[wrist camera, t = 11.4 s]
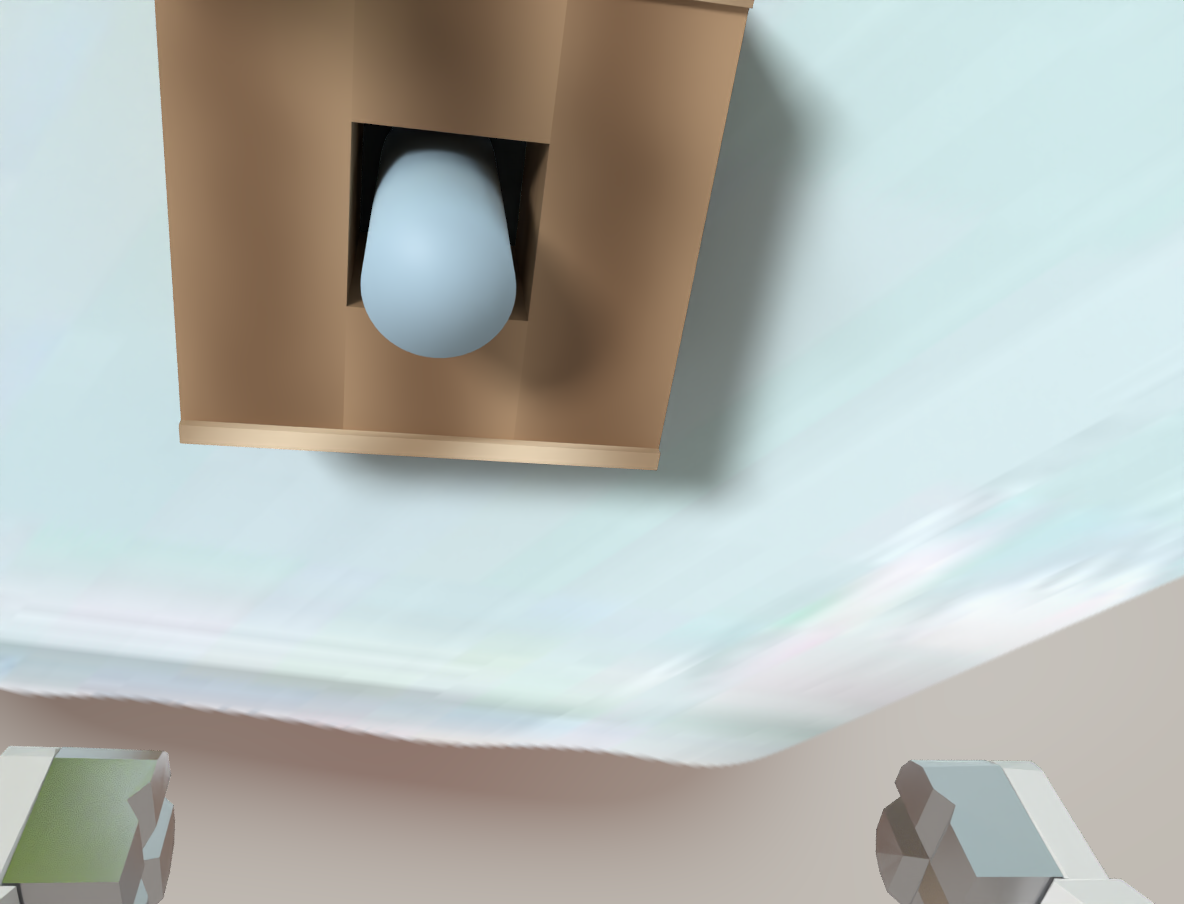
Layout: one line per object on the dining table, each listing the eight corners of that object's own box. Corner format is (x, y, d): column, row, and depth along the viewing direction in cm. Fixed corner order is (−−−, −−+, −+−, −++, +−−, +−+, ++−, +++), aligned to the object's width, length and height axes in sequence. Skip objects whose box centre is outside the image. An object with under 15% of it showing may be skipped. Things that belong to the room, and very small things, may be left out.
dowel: (501, 114, 32) (524, 222, 24) (491, 225, 34) (508, 363, 26) (382, 100, 32) (362, 206, 23) (378, 215, 34) (358, 352, 25)
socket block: (702, -49, 31) (757, -19, 25) (626, 376, 38) (657, 470, 32) (200, -124, 28) (144, -108, 23) (219, 346, 35) (180, 443, 30)
